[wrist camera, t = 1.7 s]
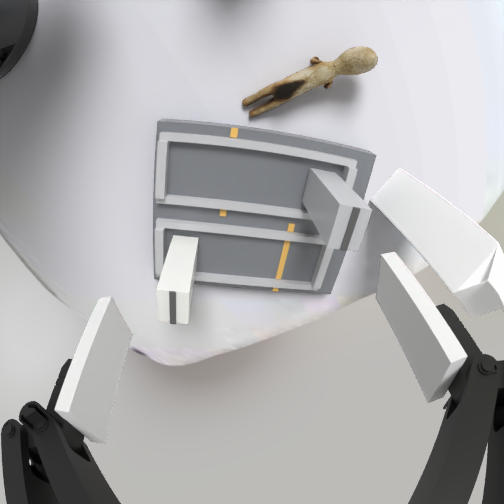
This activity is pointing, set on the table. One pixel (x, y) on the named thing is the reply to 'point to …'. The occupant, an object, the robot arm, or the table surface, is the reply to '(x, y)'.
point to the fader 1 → (177, 280)
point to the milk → (446, 242)
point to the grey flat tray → (248, 203)
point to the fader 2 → (335, 210)
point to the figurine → (314, 78)
